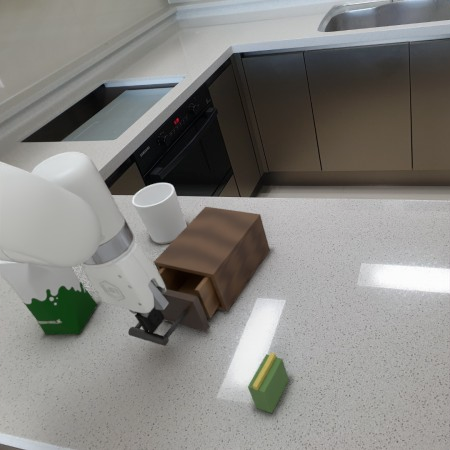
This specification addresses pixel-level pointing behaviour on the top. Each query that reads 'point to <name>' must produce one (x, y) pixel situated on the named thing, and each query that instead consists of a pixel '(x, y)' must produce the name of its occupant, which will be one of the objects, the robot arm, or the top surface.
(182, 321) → the drawer
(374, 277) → the top surface
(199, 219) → the cabinet
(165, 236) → the mug
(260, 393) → the green sponge
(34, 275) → the milk carton
